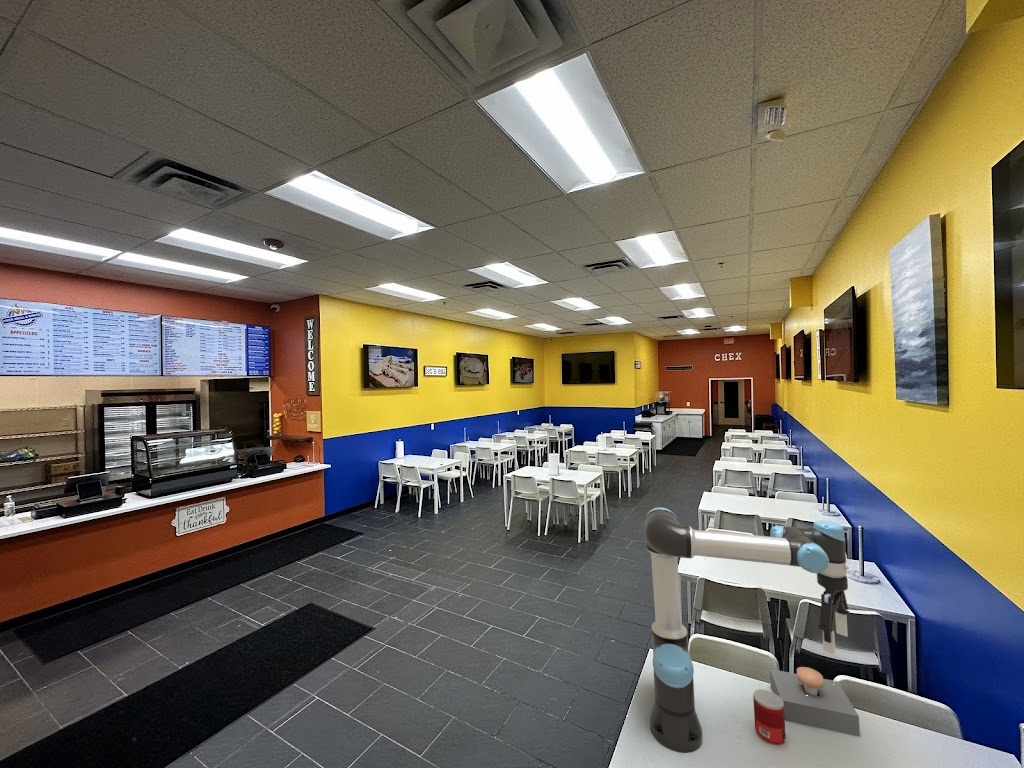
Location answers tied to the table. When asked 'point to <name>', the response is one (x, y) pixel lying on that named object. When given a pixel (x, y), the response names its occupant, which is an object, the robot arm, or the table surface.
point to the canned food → (769, 716)
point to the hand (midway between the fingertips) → (835, 643)
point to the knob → (810, 680)
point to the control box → (815, 704)
